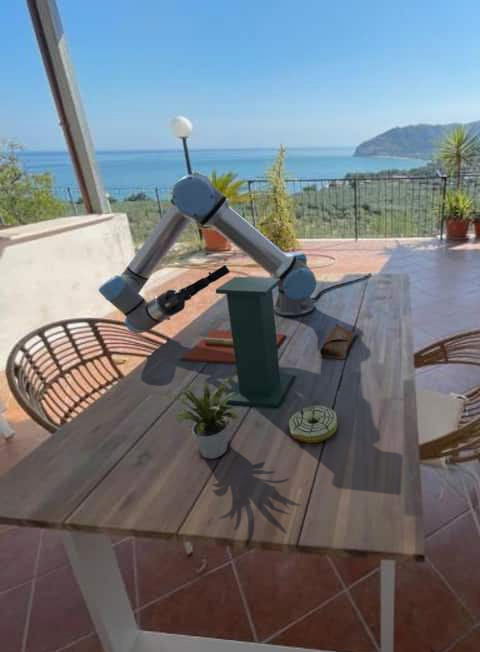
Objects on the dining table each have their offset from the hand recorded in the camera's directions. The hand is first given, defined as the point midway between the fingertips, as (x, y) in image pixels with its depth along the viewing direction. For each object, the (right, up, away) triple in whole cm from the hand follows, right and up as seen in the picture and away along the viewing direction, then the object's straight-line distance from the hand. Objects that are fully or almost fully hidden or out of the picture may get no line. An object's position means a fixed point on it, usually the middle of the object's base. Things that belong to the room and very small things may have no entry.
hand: (217, 274), depth 117 cm
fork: (+4, -22, +8) cm, 24 cm away
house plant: (+12, -40, -36) cm, 55 cm away
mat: (+3, -23, +8) cm, 25 cm away
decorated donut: (+33, -38, -29) cm, 58 cm away
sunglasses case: (+37, -23, +10) cm, 44 cm away
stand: (+17, -32, -14) cm, 39 cm away
